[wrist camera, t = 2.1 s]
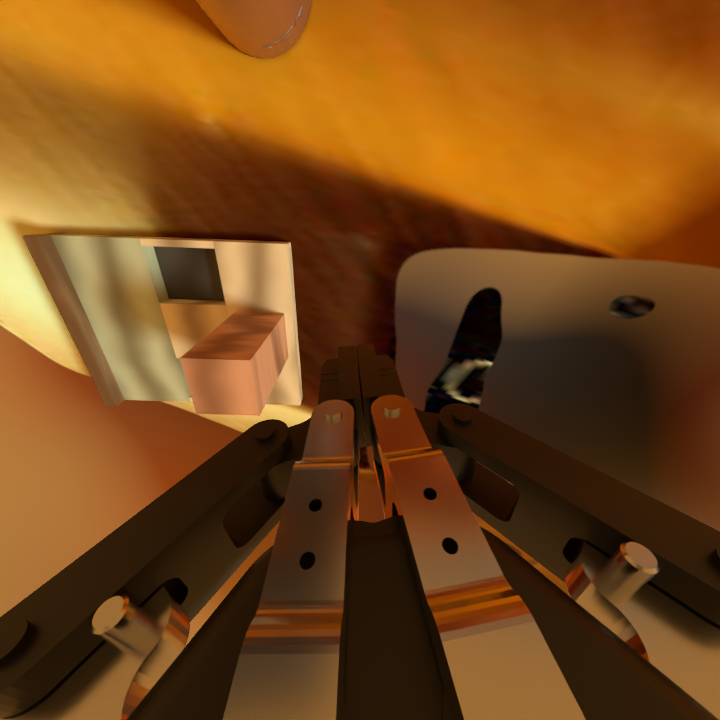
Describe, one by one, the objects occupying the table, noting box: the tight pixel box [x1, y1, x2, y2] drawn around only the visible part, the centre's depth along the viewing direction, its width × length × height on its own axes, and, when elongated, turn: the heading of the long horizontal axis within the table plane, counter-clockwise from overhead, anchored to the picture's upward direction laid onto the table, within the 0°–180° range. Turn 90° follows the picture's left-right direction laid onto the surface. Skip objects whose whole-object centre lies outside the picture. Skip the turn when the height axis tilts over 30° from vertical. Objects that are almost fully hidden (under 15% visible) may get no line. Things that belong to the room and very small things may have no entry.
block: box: [180, 312, 288, 416], centre depth 31 cm, size 6×6×12 cm
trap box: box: [22, 233, 303, 406], centre depth 36 cm, size 27×22×4 cm
